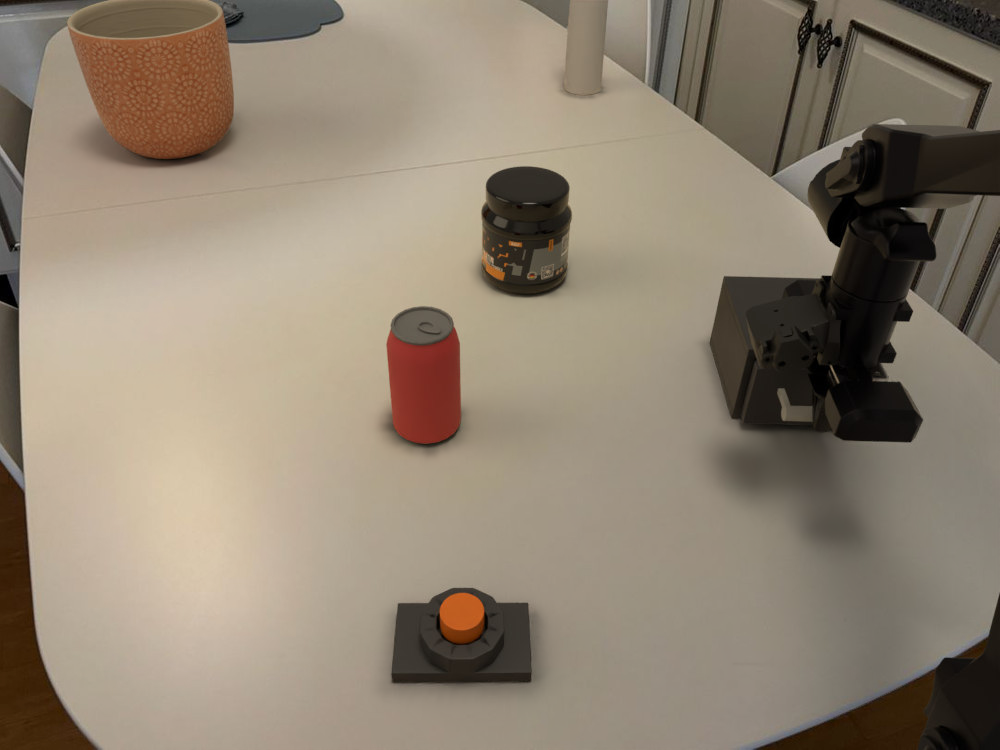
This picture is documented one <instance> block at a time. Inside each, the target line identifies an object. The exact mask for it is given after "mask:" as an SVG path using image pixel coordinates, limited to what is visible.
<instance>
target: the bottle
mask: <svg viewBox="0 0 1000 750" xmlns="http://www.w3.org/2000/svg"><path fill="white" fill-rule="evenodd" d="M608 8H609V0H569V7H568V21H567V35H566V50H565V63H564V79H563V89H564V91H566V92H568V94H572V95H577V96H590V95H591V96H592V95H595V94H598V93H600V91H601V90H602V80H603V69H604V57H605V56H604V55H605V45H606V33H607V19H608V10H609V9H608Z"/></svg>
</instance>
